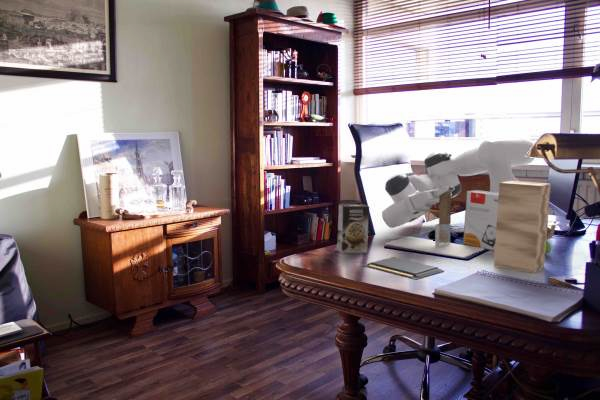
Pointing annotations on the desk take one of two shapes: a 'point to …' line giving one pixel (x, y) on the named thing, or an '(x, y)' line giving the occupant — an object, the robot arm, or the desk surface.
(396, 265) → the grey book
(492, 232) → the hard drive box
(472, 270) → the desk surface
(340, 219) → the cookie box
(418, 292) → the desk surface
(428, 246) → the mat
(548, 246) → the snail figurine
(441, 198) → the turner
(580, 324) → the desk surface
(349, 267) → the desk surface
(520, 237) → the stand
